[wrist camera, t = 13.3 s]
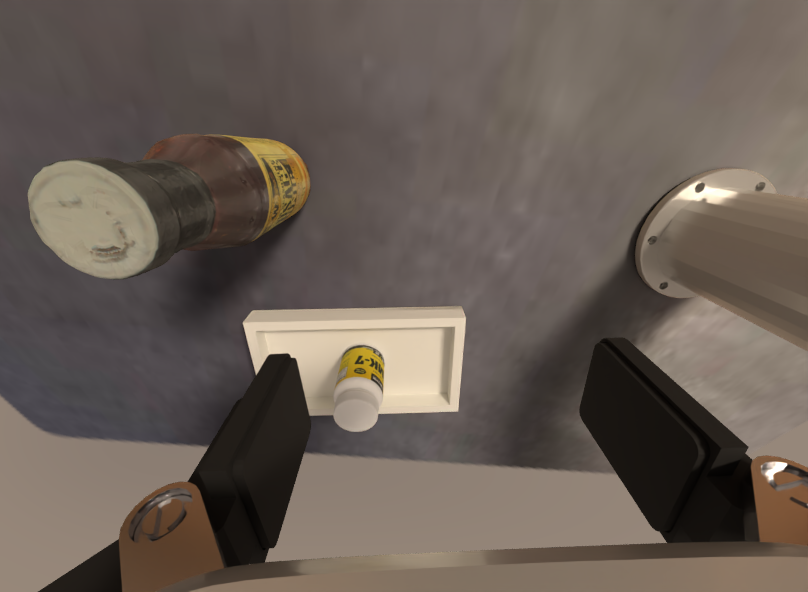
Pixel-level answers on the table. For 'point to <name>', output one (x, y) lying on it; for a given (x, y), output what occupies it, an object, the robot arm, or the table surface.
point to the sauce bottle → (165, 201)
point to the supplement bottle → (359, 387)
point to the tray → (381, 327)
